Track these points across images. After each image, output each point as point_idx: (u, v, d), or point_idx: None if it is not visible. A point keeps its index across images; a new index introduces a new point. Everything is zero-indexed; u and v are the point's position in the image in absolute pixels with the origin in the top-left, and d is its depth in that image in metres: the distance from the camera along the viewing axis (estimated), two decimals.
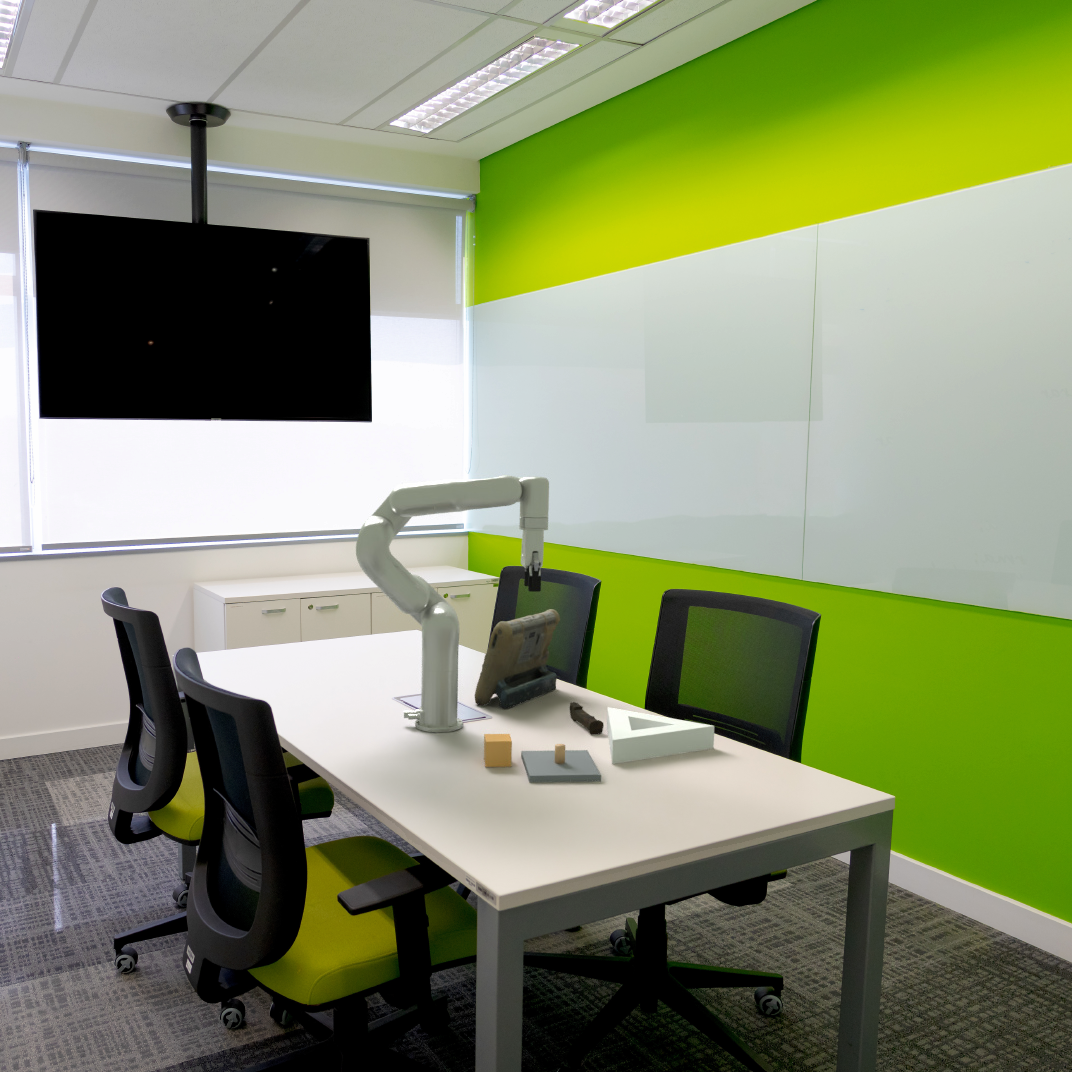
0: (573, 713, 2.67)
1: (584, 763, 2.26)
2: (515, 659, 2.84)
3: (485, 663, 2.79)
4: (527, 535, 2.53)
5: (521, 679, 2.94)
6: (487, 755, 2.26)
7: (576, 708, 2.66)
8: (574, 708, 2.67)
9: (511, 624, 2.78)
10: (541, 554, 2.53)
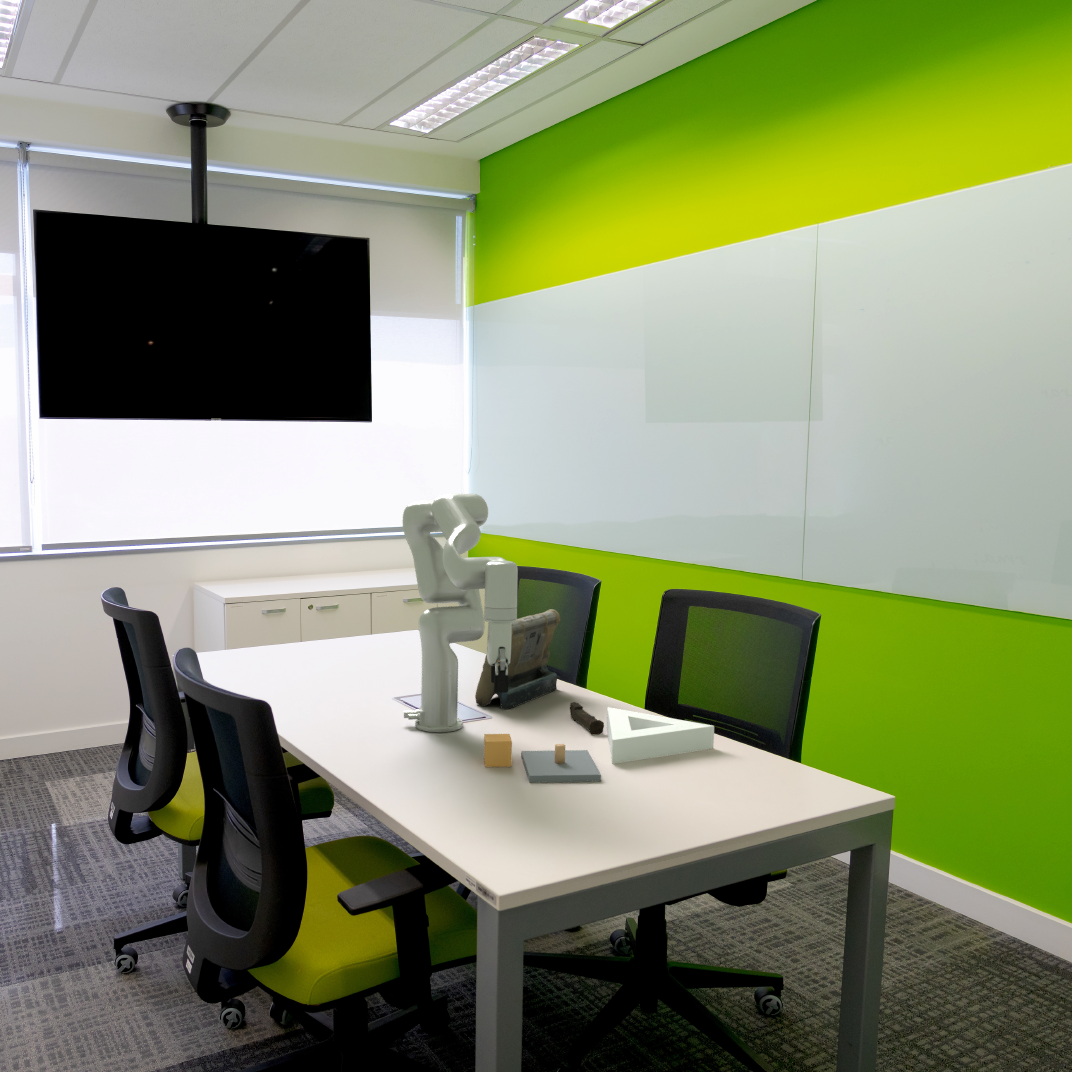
0: (573, 713, 2.67)
1: (584, 763, 2.26)
2: (516, 660, 2.83)
3: (485, 663, 2.79)
4: (492, 629, 2.23)
5: (521, 679, 2.94)
6: (487, 755, 2.26)
7: (576, 708, 2.66)
8: (574, 708, 2.67)
9: None
10: (508, 650, 2.23)
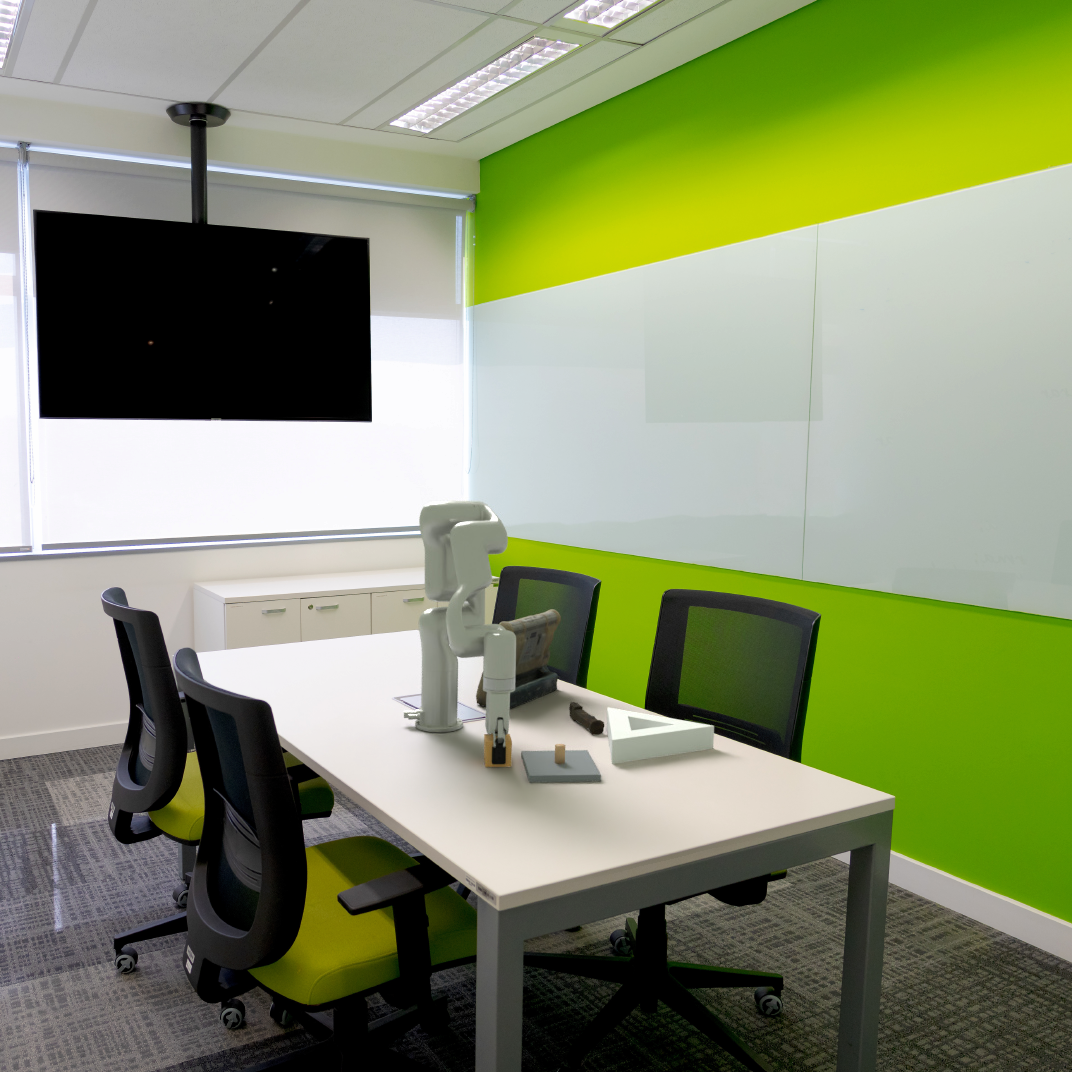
0: (573, 713, 2.67)
1: (584, 763, 2.26)
2: (516, 660, 2.83)
3: None
4: (491, 699, 2.24)
5: (522, 679, 2.93)
6: (487, 755, 2.26)
7: (576, 708, 2.66)
8: (574, 708, 2.67)
9: (512, 624, 2.78)
10: (507, 720, 2.24)
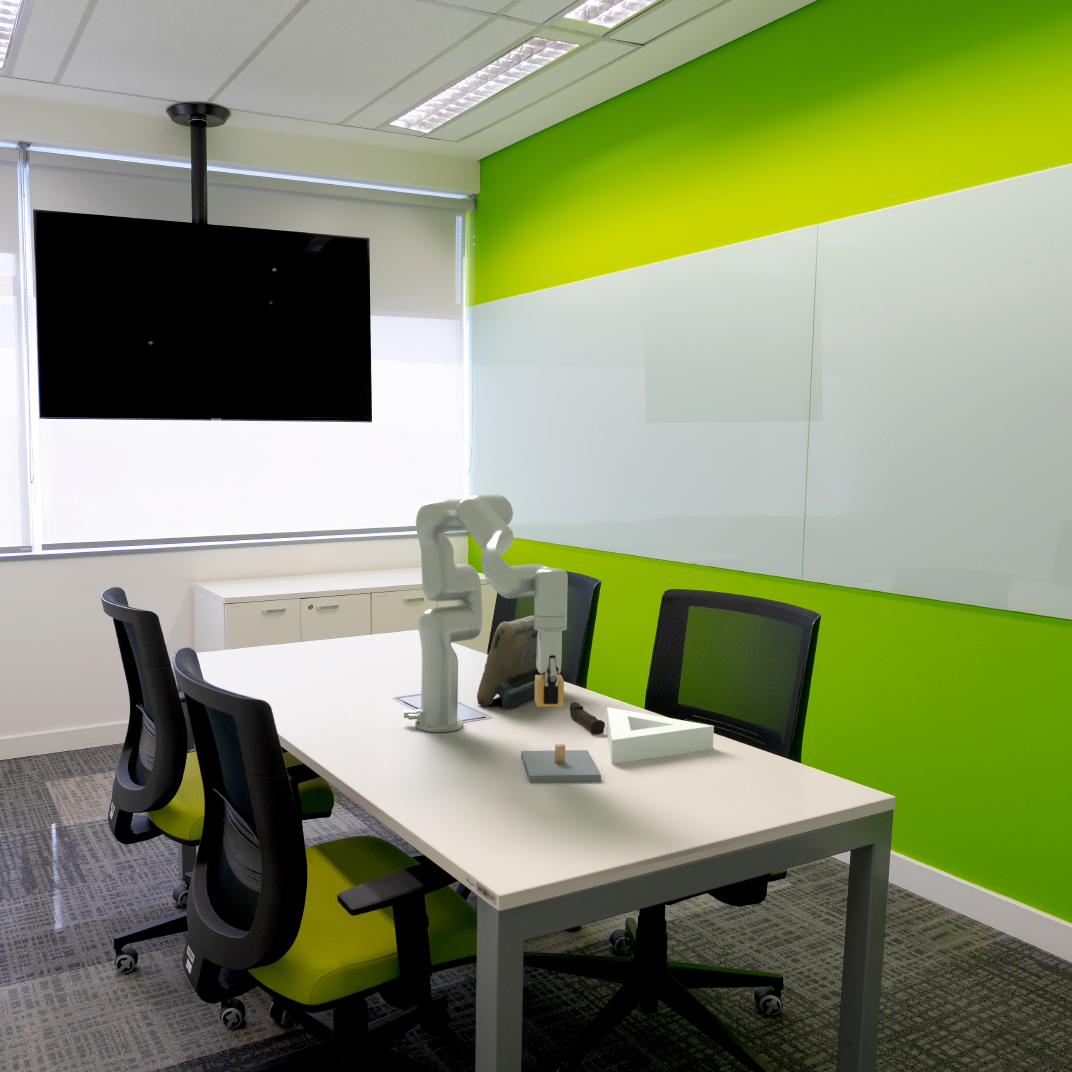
0: (574, 713, 2.67)
1: (584, 763, 2.26)
2: (517, 660, 2.83)
3: (487, 663, 2.78)
4: (543, 637, 2.20)
5: (523, 679, 2.93)
6: (539, 695, 2.22)
7: (577, 708, 2.66)
8: (575, 708, 2.67)
9: (513, 624, 2.78)
10: (559, 659, 2.20)
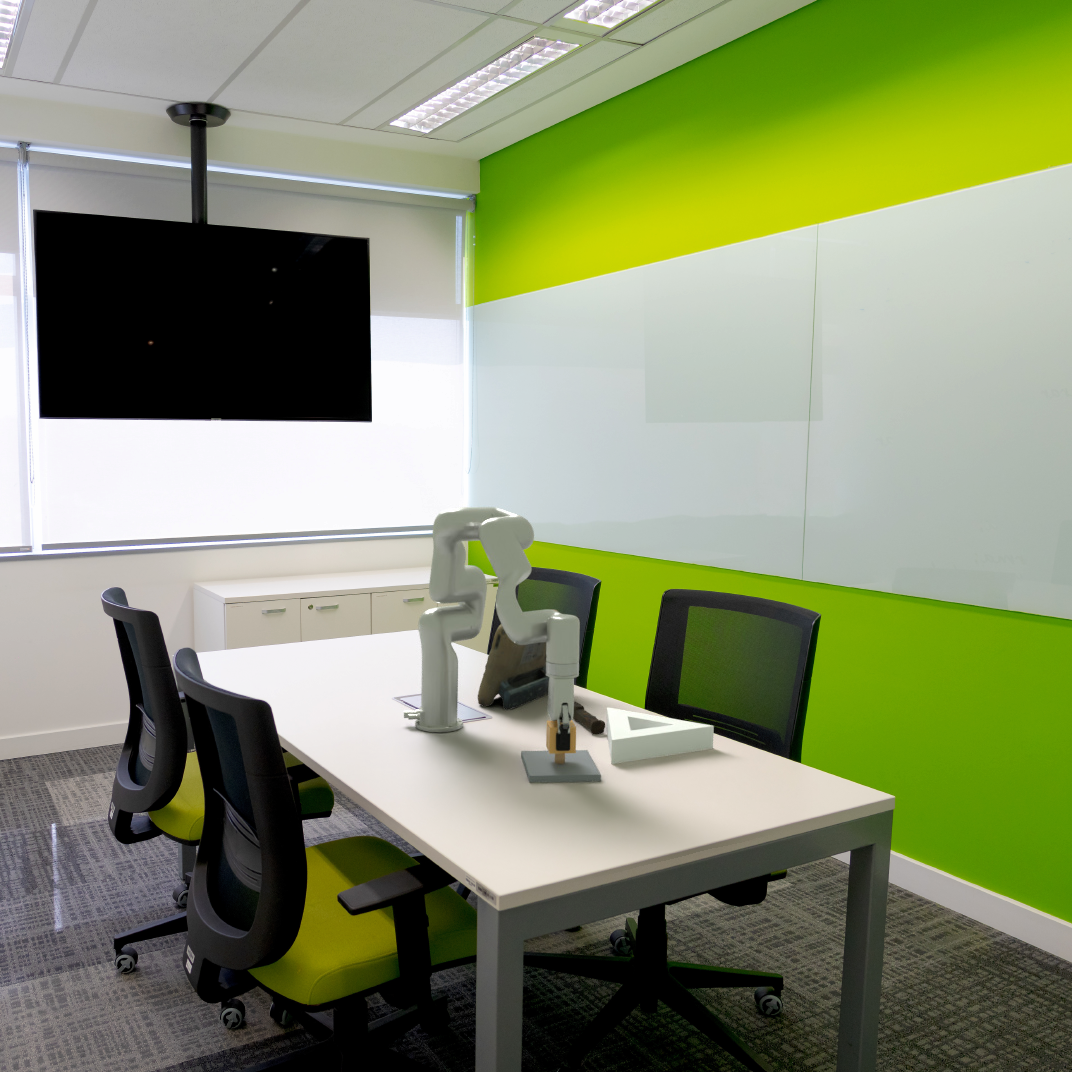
0: (574, 713, 2.67)
1: (584, 763, 2.26)
2: (518, 660, 2.83)
3: (488, 663, 2.78)
4: (555, 684, 2.20)
5: (523, 679, 2.93)
6: (551, 741, 2.23)
7: (577, 708, 2.67)
8: (575, 708, 2.67)
9: None
10: (571, 706, 2.21)
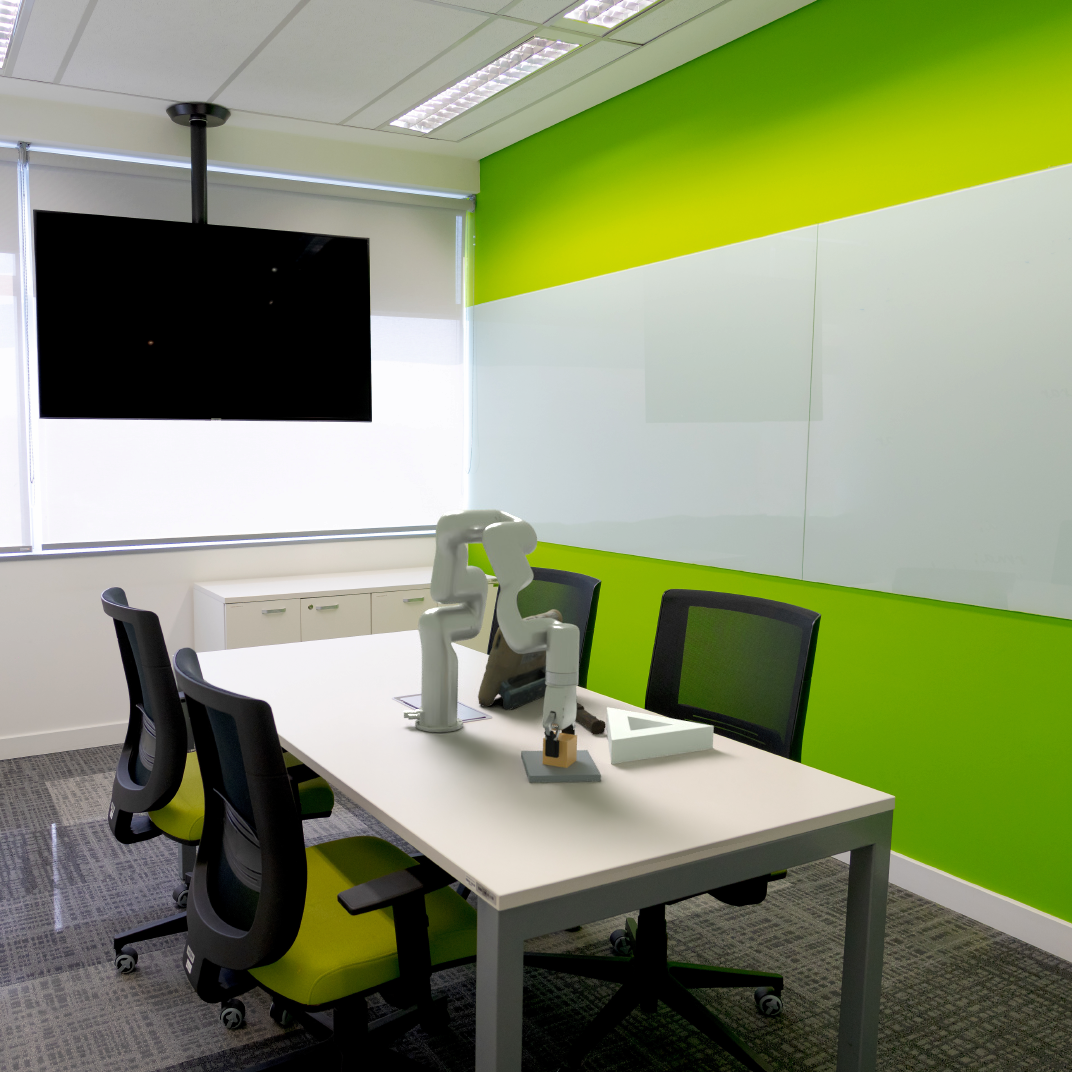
0: None
1: (584, 763, 2.26)
2: (518, 660, 2.83)
3: (488, 663, 2.78)
4: (546, 692, 2.22)
5: (524, 679, 2.93)
6: (544, 752, 2.25)
7: (578, 708, 2.67)
8: None
9: None
10: (559, 715, 2.20)
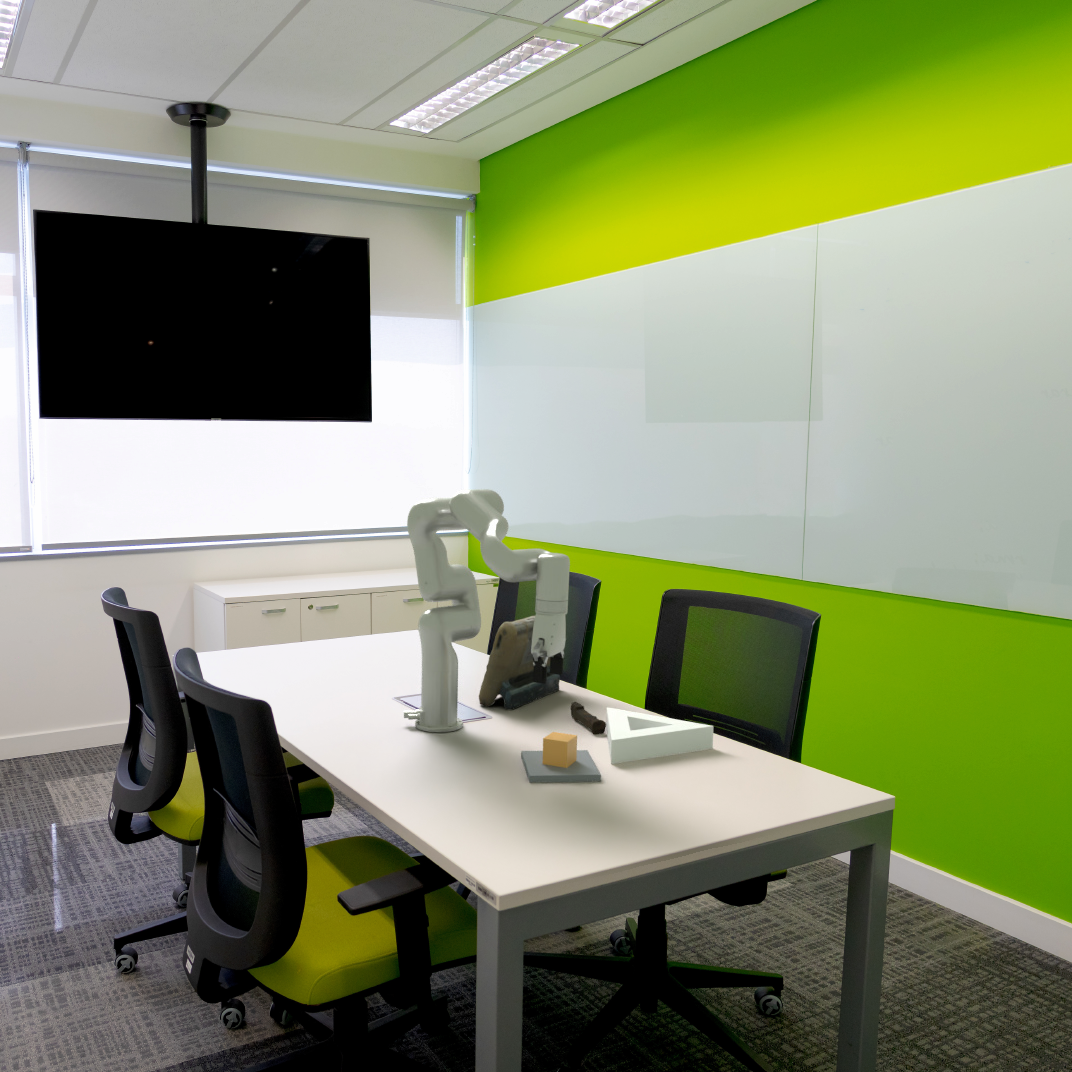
0: (575, 713, 2.67)
1: (584, 763, 2.26)
2: (519, 660, 2.83)
3: (489, 663, 2.78)
4: (535, 619, 2.26)
5: (524, 679, 2.93)
6: (544, 752, 2.25)
7: (578, 708, 2.67)
8: (576, 708, 2.67)
9: (515, 624, 2.78)
10: (548, 642, 2.24)
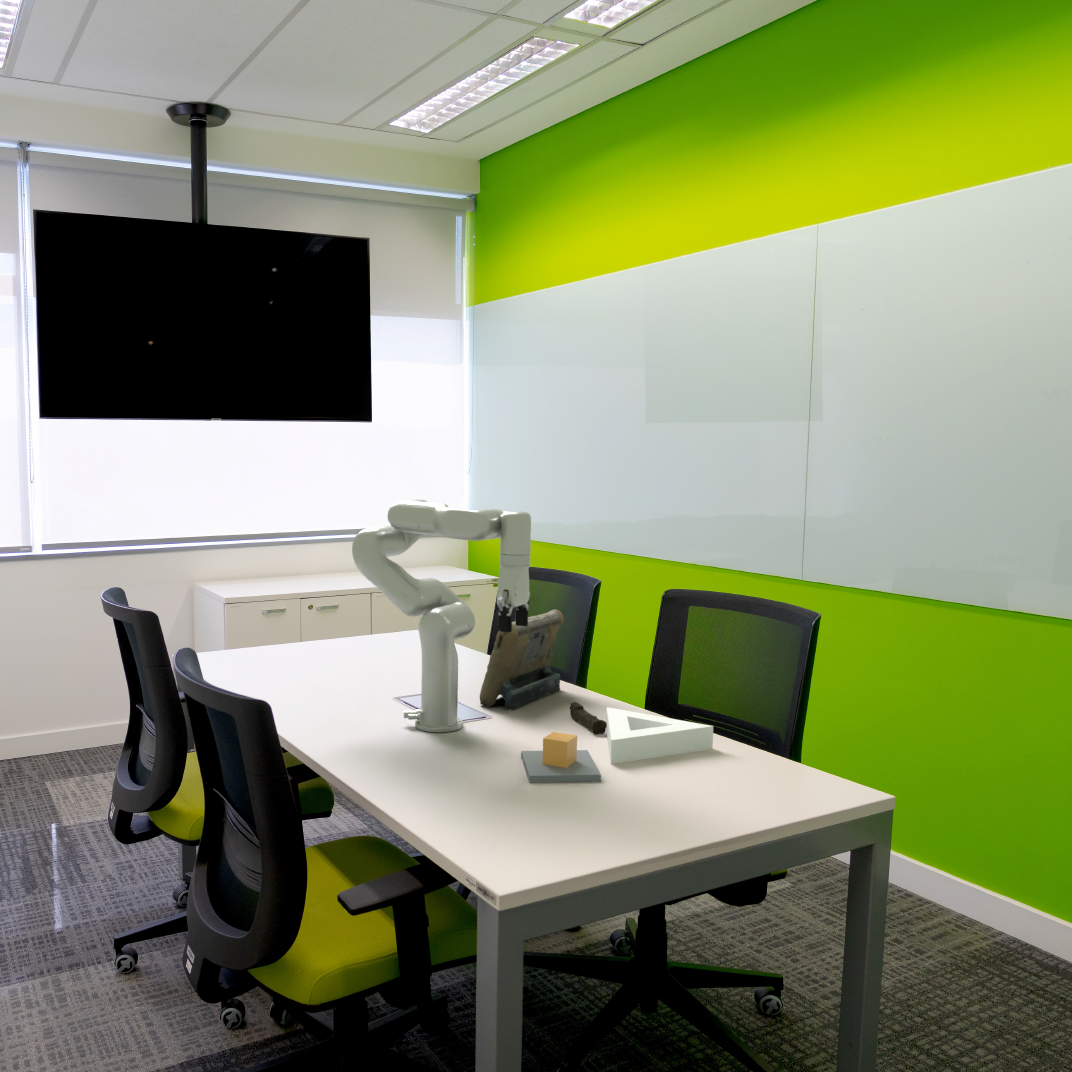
0: (574, 713, 2.67)
1: (584, 763, 2.26)
2: (520, 660, 2.83)
3: (490, 663, 2.78)
4: (500, 572, 2.43)
5: (525, 679, 2.93)
6: (544, 752, 2.25)
7: (577, 708, 2.66)
8: (575, 708, 2.67)
9: None
10: (512, 593, 2.41)
